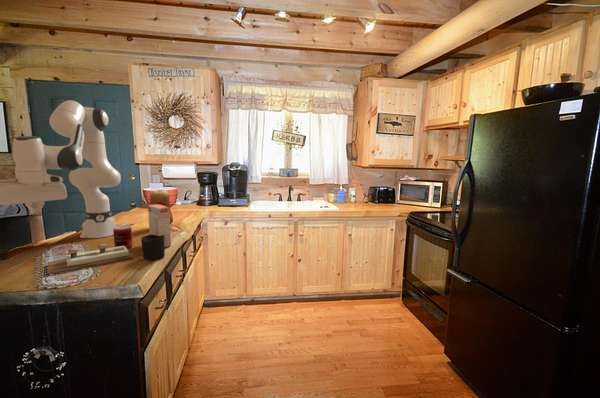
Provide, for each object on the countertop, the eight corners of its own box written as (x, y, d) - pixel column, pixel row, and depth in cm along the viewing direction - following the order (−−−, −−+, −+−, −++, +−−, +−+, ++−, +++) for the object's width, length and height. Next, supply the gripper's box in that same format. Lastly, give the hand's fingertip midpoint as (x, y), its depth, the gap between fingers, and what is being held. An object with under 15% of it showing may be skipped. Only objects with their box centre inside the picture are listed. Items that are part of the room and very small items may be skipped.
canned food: (129, 244, 145) (127, 224, 143) (135, 247, 140) (133, 226, 138) (112, 248, 139) (110, 226, 138) (118, 251, 134) (116, 229, 133)
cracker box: (171, 246, 144) (169, 207, 141) (159, 249, 139) (157, 208, 136) (161, 240, 153) (159, 203, 150) (149, 242, 149) (147, 204, 146)
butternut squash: (149, 231, 170) (147, 191, 166) (149, 227, 181) (147, 189, 178) (174, 229, 177) (172, 190, 173) (172, 224, 188) (170, 188, 184)
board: (47, 264, 116) (46, 249, 115) (127, 250, 136) (126, 237, 135) (47, 275, 106) (45, 258, 105) (133, 258, 125) (132, 244, 124)
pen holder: (161, 252, 134) (160, 233, 132) (168, 258, 127) (167, 237, 126) (140, 257, 128) (138, 236, 126) (145, 263, 121) (144, 241, 119)
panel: (66, 259, 119) (65, 250, 118) (124, 249, 133) (123, 241, 132) (67, 266, 111) (66, 257, 111) (128, 255, 126) (128, 246, 125)
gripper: (-3, 180, 96) (2, 219, 98) (67, 177, 115) (70, 210, 117) (-10, 179, 99) (-5, 217, 101) (59, 176, 117) (62, 208, 119)
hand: (36, 213), depth 109 cm, fingers closed
